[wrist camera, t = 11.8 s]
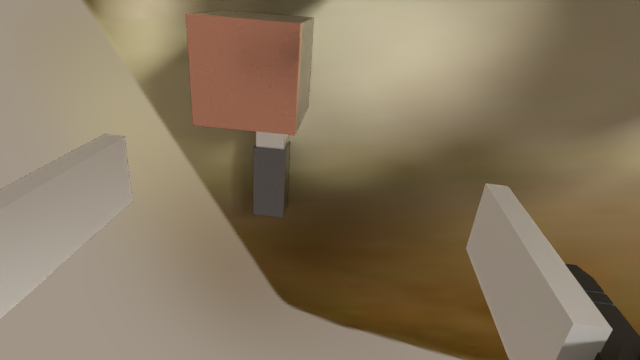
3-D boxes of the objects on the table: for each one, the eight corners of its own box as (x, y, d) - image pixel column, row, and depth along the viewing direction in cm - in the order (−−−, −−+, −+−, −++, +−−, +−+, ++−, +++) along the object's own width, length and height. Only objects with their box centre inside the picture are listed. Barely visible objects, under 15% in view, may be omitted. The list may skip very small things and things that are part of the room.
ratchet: (301, 206, 42) (289, 250, 34) (244, 200, 42) (221, 243, 35) (313, 20, 34) (300, 26, 27) (243, 14, 34) (212, 19, 27)
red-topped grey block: (227, 98, 35) (192, 125, 27) (225, 10, 32) (185, 14, 24) (308, 106, 34) (295, 135, 27) (313, 17, 31) (300, 23, 24)
